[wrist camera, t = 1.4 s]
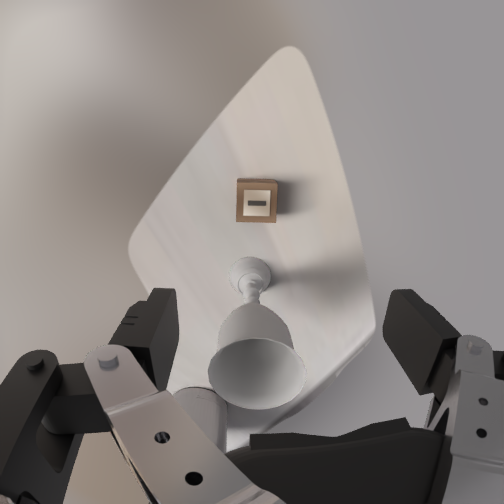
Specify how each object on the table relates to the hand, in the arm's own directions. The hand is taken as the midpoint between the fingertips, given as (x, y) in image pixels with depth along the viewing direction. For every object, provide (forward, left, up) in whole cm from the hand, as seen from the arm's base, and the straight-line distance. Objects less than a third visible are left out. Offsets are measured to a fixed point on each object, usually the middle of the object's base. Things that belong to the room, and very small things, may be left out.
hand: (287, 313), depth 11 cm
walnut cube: (0, 0, -25) cm, 25 cm away
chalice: (-8, -5, -26) cm, 27 cm away
